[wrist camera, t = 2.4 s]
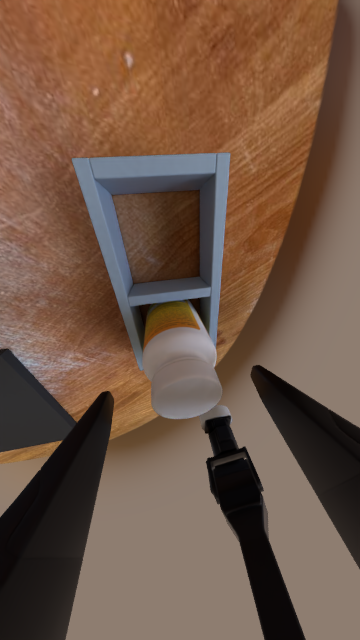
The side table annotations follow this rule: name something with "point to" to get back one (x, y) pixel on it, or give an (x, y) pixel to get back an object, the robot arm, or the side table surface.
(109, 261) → the holder
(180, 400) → the supplement bottle
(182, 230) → the side table surface
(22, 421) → the mat
